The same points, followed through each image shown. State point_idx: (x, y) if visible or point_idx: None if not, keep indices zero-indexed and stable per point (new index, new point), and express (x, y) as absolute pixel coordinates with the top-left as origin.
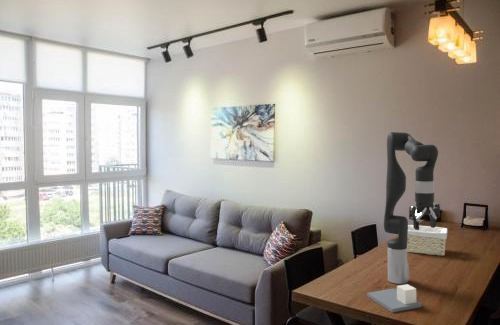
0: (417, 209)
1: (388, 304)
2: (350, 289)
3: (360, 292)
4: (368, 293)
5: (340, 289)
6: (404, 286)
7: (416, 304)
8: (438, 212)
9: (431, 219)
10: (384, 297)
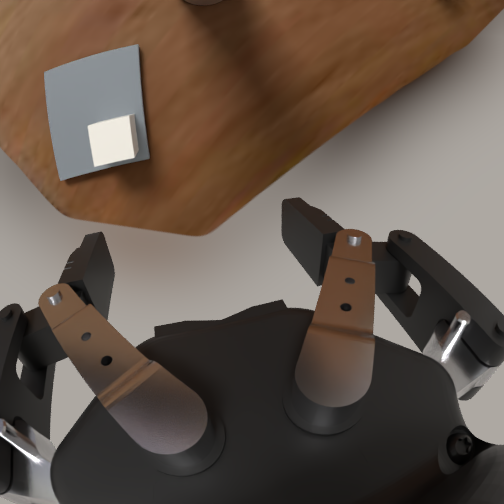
0: (91, 436)
1: (62, 152)
2: (33, 27)
3: (45, 46)
4: (46, 75)
5: (12, 29)
6: (108, 133)
7: (131, 162)
8: (408, 321)
9: (319, 248)
10: (72, 106)
